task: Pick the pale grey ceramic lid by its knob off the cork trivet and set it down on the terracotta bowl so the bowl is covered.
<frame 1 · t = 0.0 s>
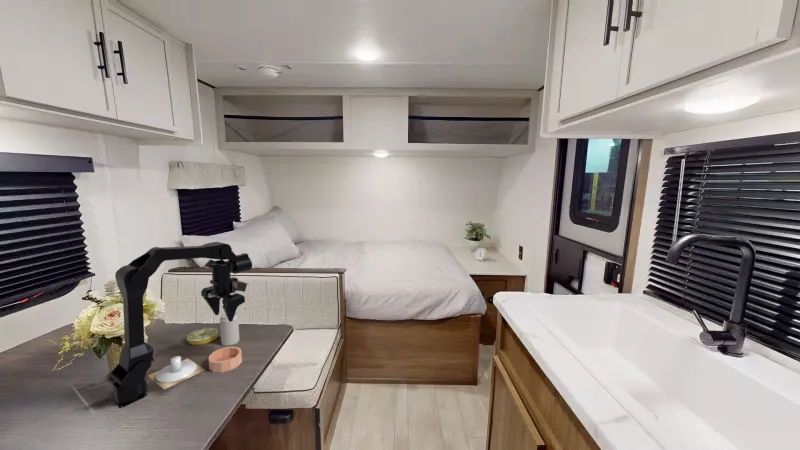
hand: (223, 317, 114), 15 cm above the table, fingers open, 9 cm apart
beverage can: (230, 343, 124), on the table
lid: (176, 372, 104), point 1 cm above the table, touching trivet
decorated donut: (203, 341, 126), on the table
trivet: (177, 374, 104), on the table
bowl: (226, 364, 110), on the table
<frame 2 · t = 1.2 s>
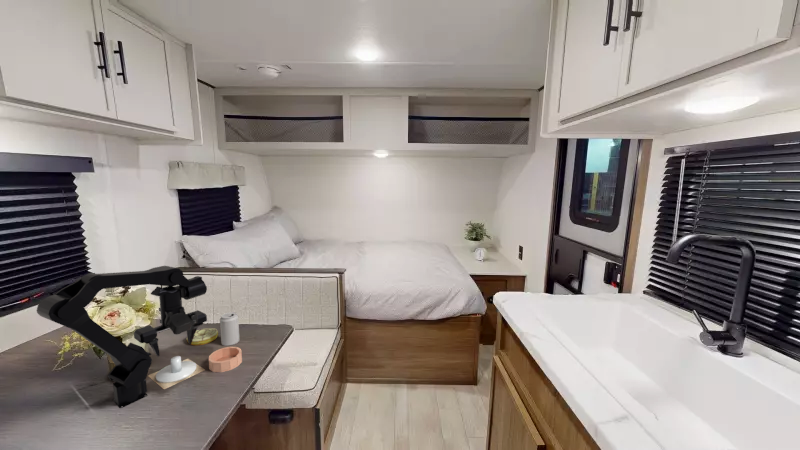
hand: (174, 349, 102), 9 cm above the table, fingers open, 9 cm apart
nothing on the table moved.
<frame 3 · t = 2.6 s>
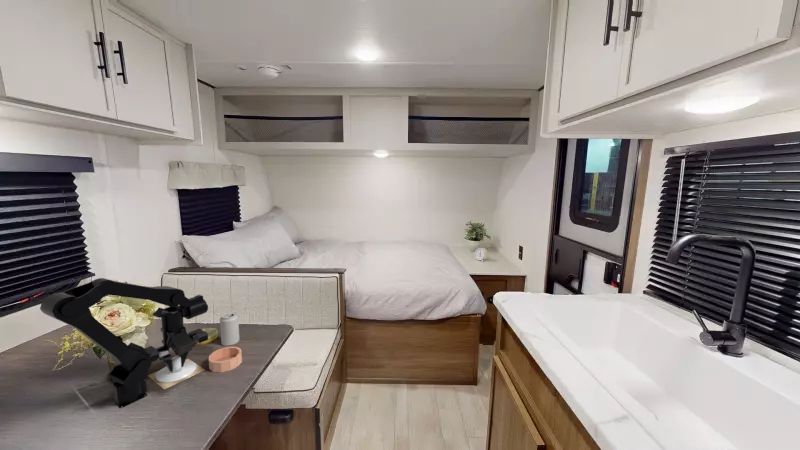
hand: (176, 368, 103), 2 cm above the table, fingers closed on lid, 3 cm apart
lid: (176, 372, 104), point 1 cm above the table, touching gripper, trivet
everything else where it was.
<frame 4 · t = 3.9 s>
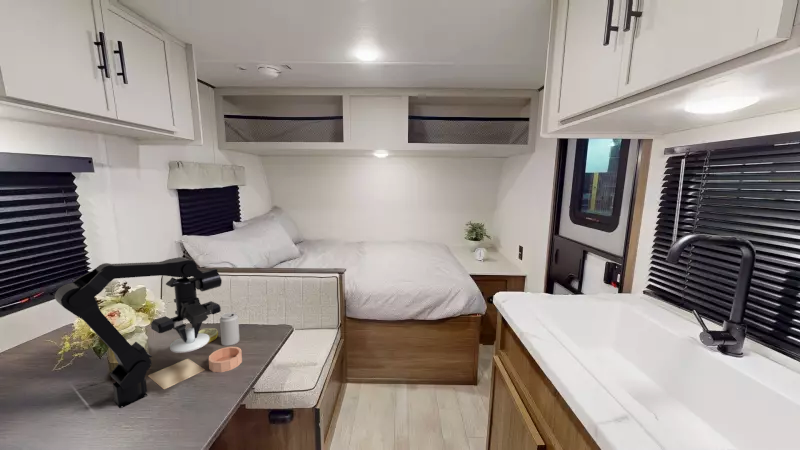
hand: (190, 339, 104), 11 cm above the table, fingers closed on lid, 3 cm apart
lid: (190, 343, 104), point 10 cm above the table, touching gripper
everything else where it was.
when the fingers open (7 cm above the table, at t = 5.4 s): lid drops 1 cm, resting on bowl.
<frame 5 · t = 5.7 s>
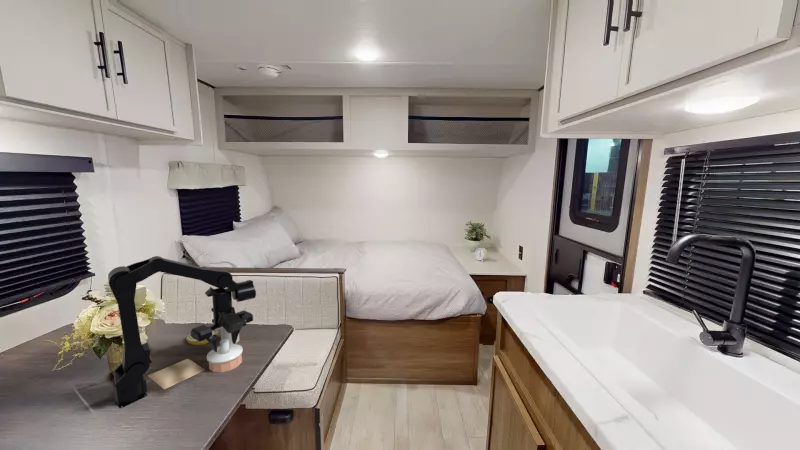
hand: (225, 347, 109), 7 cm above the table, fingers open, 6 cm apart
lid: (225, 354, 109), point 4 cm above the table, touching bowl
everything else where it was.
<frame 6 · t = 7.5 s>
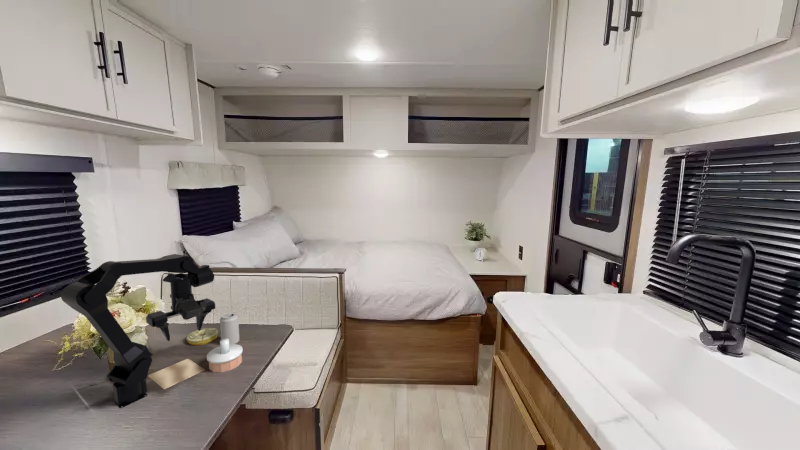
hand: (184, 335, 106), 12 cm above the table, fingers open, 9 cm apart
nothing on the table moved.
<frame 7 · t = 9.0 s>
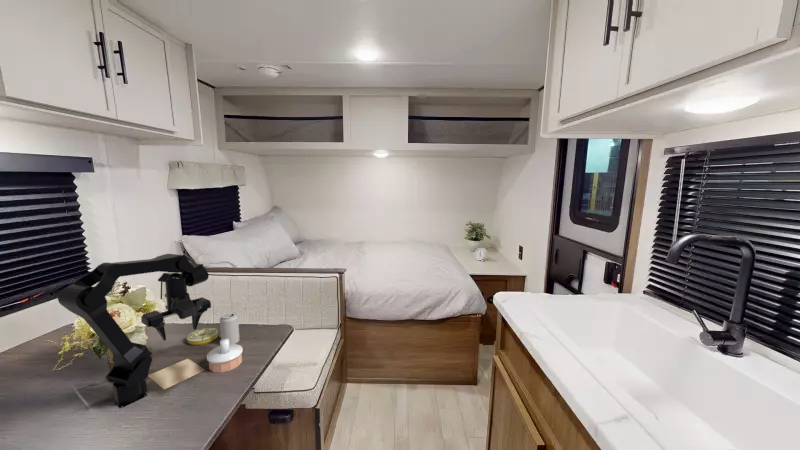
hand: (180, 334, 106), 12 cm above the table, fingers open, 9 cm apart
nothing on the table moved.
at the end: lid 0.1 cm off-centre on the bowl, point 4.0 cm above the bowl's base; lid tilted 0°; the gripper is holding nothing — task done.
